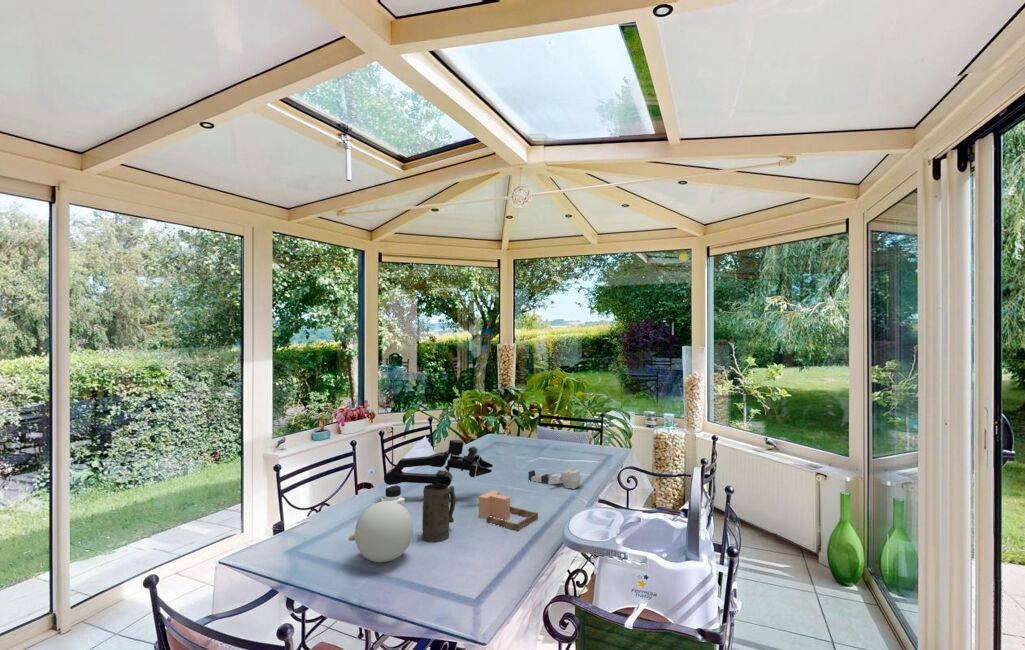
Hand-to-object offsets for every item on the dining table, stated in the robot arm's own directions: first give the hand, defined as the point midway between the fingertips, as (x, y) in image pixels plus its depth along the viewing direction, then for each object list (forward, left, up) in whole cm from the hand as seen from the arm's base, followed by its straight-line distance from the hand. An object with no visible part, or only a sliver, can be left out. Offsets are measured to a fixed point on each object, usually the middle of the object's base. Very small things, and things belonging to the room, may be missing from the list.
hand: (492, 468), depth 223 cm
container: (-45, -13, -16) cm, 50 cm away
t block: (0, -19, -16) cm, 25 cm away
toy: (+36, +23, -17) cm, 46 cm away
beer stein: (-24, -35, -16) cm, 45 cm away
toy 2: (-43, -54, -16) cm, 71 cm away
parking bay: (+7, -24, -16) cm, 30 cm away
